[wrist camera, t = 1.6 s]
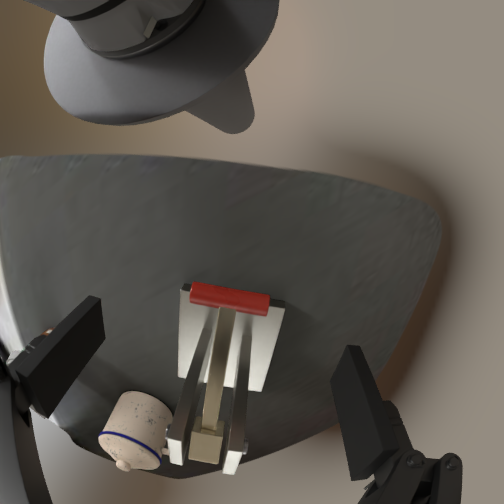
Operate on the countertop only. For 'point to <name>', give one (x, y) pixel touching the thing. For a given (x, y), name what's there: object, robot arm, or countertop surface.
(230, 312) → the lever
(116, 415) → the teacup with lid
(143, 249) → the countertop surface
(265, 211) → the countertop surface
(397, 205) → the countertop surface
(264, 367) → the bracket
